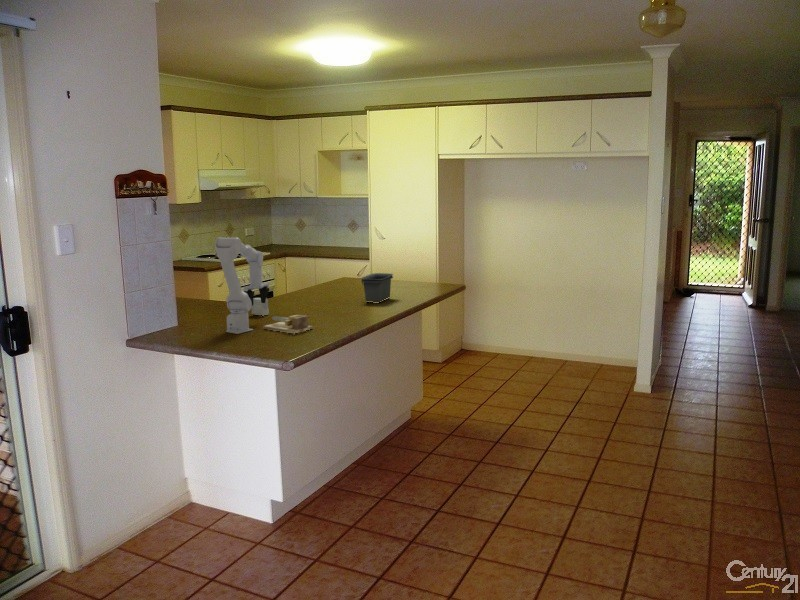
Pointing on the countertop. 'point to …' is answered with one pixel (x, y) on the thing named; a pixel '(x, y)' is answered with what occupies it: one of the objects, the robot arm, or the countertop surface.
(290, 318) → the wing nut
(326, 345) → the countertop surface
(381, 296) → the storage bin
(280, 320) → the threaded rod
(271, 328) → the beige blocky piece
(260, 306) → the medicine box
